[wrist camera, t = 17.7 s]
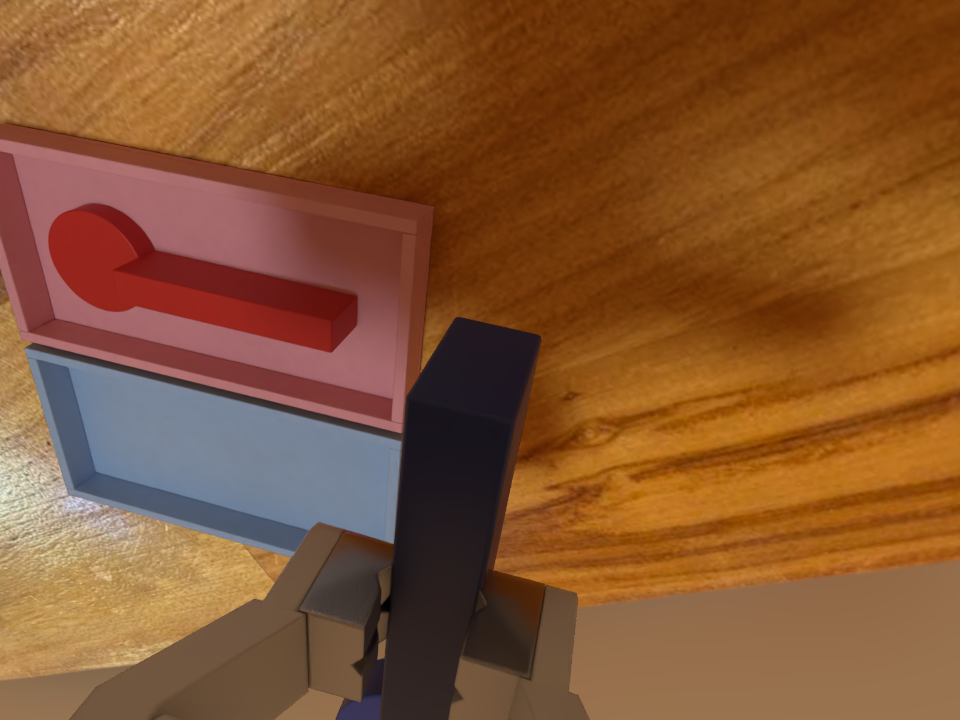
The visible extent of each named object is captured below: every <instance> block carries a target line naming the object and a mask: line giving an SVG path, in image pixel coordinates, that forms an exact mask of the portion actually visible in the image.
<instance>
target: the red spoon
mask: <svg viewBox="0 0 960 720" xmlns="http://www.w3.org/2000/svg"><path fill="white" fill-rule="evenodd" d="M48 246H49V252H50V255H51V259H52V261H53V264H54V266H55V268H56V270H57V272H58V273H59V275H60V276H61V278H62V279H63V281H64V282H65V283H66V285H67V286H68V287H69V288H70V289H71V290H72V291H73V292H74V293H75V294H76V295H77V296H79V297H80V298H81V299H82V300H84V301H85V302H87V303H89V304H90V305H92V306H94V307H96V308H99V309H102V310H105V311H110V312H124V311H127V310H130V309H132V308H134V307H136V306H137V307H141V308H145V309H149V310H153V311H157V312H162V313H166V314H170V315H174V316H178V317H183V318H187V319H191V320H195V321H199V322H203V323H208V324H212V325H216V326H220V327H224V328H228V329H233V330H237V331H241V332H245V333H249V334H254V335H258V336H262V337H266V338H270V339H274V340H279V341H283V342H287V343H291V344H295V345H300V346H304V347H308V348H312V349H316V350H320V351H325V352H329V353H332V352H333V351H334V350H335V349H336V348H337V347H338V346H339V345H340V343H341V342H342V341H343V340H344V339H345V338H346V337H347V336H348V335H349V334H350V333H351V332H352V331H353V329H354V328H355V327H356V326H357V296H354V295H349V294H345V293H341V292H336V291H332V290H327V289H323V288H318V287H314V286H310V285H305V284H301V283H296V282H292V281H287V280H283V279H278V278H274V277H270V276H265V275H261V274H256V273H252V272H247V271H243V270H238V269H234V268H230V267H225V266H221V265H216V264H212V263H207V262H203V261H198V260H194V259H190V258H185V257H181V256H176V255H172V254H167V253H163V252H158V251H155V250H154V247H153V246H152V244H151V242H150V240H149V239H148V237H147V236H146V234H145V233H144V232H143V231H142V229H141V228H140V227H139V226H138V225H137V224H136V223H135V222H134V221H132V220H131V219H130V218H129V217H127V216H126V215H125V214H123V213H121V212H120V211H118V210H116V209H113V208H111V207H108V206H104V205H99V204H89V205H84V206H81V207H78V208H75V209H72V210H69V211H66V212H63V213H62V214H60V215H59V216H58V217H57V218H56V219H55V220H54V221H53V223H52V225H51V227H50V230H49V235H48Z"/></svg>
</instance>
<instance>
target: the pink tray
mask: <svg viewBox="0 0 960 720" xmlns="http://www.w3.org/2000/svg"><path fill="white" fill-rule="evenodd" d="M89 204H99V205H104V206H108V207H111V208H113V209H116V210H118V211H120V212H121V213H123V214H125V215H126V216H127V217H129V218H130V219H131V220H132V221H134V222H135V223H136V224H137V225H138V226H139V227H140V228H141V229H142V231H143V232H144V233H145V234H146V236H147V237H148V239H149V240H150V242H151V244H152V246H153V247H154V250H155V251H158V252H163V253H167V254H172V255H176V256H181V257H185V258H190V259H194V260H198V261H203V262H207V263H212V264H216V265H221V266H225V267H230V268H234V269H238V270H243V271H247V272H252V273H256V274H261V275H265V276H270V277H274V278H278V279H283V280H287V281H292V282H296V283H301V284H305V285H310V286H314V287H318V288H323V289H327V290H332V291H336V292H341V293H345V294H349V295H354V296H357V326H356V327H355V328H354V329H353V331H352V332H351V333H350V334H349V335H348V336H347V337H346V338H345V339H344V340H343V341H342V342H341V343H340V345H339V346H338V347H337V348H336V349H335V350H334V351H333V352H332V353H329V352H325V351H320V350H316V349H312V348H308V347H304V346H300V345H295V344H291V343H287V342H283V341H279V340H274V339H270V338H266V337H262V336H258V335H254V334H249V333H245V332H241V331H237V330H233V329H228V328H224V327H220V326H216V325H212V324H208V323H203V322H199V321H195V320H191V319H187V318H183V317H178V316H174V315H170V314H166V313H162V312H157V311H153V310H149V309H145V308H141V307H137V306H136V307H134V308H132V309H130V310H127V311H124V312H110V311H105V310H102V309H99V308H96V307H94V306H92V305H90V304H89V303H87V302H85V301H84V300H82V299H81V298H80V297H79V296H77V295H76V294H75V293H74V292H73V291H72V290H71V289H70V288H69V287H68V286H67V285H66V283H65V282H64V281H63V279H62V278H61V276H60V275H59V273H58V272H57V270H56V268H55V266H54V264H53V261H52V259H51V255H50V252H49V246H48V235H49V230H50V227H51V225H52V223H53V221H54V220H55V219H56V218H57V217H58V216H59V215H60V214H62V213H63V212H66V211H69V210H72V209H75V208H78V207H81V206H84V205H89ZM433 214H434V206H430V205H425V204H420V203H415V202H409V201H404V200H399V199H394V198H389V197H384V196H378V195H373V194H368V193H363V192H358V191H353V190H347V189H342V188H337V187H332V186H327V185H321V184H316V183H311V182H306V181H301V180H296V179H290V178H285V177H280V176H275V175H270V174H265V173H259V172H254V171H249V170H244V169H239V168H234V167H228V166H223V165H218V164H213V163H208V162H202V161H197V160H192V159H187V158H182V157H177V156H171V155H166V154H161V153H156V152H151V151H146V150H140V149H135V148H130V147H125V146H120V145H115V144H109V143H104V142H99V141H94V140H89V139H83V138H78V137H73V136H68V135H63V134H58V133H52V132H47V131H42V130H37V129H32V128H27V127H21V126H16V125H11V124H0V269H1V272H2V275H3V279H4V282H5V285H6V289H7V292H8V295H9V299H10V302H11V305H12V309H13V312H14V315H15V319H16V322H17V325H18V329H19V330H20V331H19V332H20V335H21V339H22V340H25V341H29V342H33V343H37V344H42V345H46V346H50V347H54V348H58V349H62V350H66V351H70V352H74V353H78V354H82V355H86V356H90V357H94V358H98V359H102V360H106V361H110V362H114V363H118V364H123V365H127V366H131V367H135V368H139V369H143V370H147V371H151V372H155V373H159V374H163V375H167V376H171V377H175V378H179V379H183V380H187V381H191V382H195V383H199V384H204V385H208V386H212V387H216V388H220V389H224V390H228V391H232V392H236V393H240V394H244V395H248V396H252V397H256V398H260V399H264V400H268V401H272V402H276V403H281V404H285V405H289V406H293V407H297V408H301V409H305V410H309V411H313V412H317V413H321V414H325V415H329V416H333V417H337V418H341V419H345V420H349V421H353V422H357V423H362V424H366V425H370V426H374V427H378V428H382V429H386V430H390V431H394V432H398V433H402V432H403V428H404V416H405V404H406V396H407V395H408V393H409V391H410V390H411V388H412V387H413V385H414V383H415V382H416V380H417V378H418V377H419V375H420V363H421V352H422V340H423V329H424V317H425V306H426V294H427V283H428V271H429V260H430V248H431V237H432V225H433Z"/></svg>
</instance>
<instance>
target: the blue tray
mask: <svg viewBox="0 0 960 720" xmlns="http://www.w3.org/2000/svg"><path fill="white" fill-rule="evenodd" d="M25 352H26V355H27V357H28V358H27V359H28V362H29V365H30V369H31V372H32V375H33V379H34V382H35V385H36V389H37V392H38V395H39V399H40V402H41V405H42V409H43V412H44V415H45V419H46V422H47V425H48V428H49V432H50V435H51V438H52V442H53V445H54V448H55V452H56V455H57V458H58V462H59V465H60V468H61V472H62V475H63V478H64V482H65V485H66V487H67V492H68V494H69V495H72V496H76V497H79V498H83V499H86V500H90V501H93V502H97V503H100V504H104V505H108V506H111V507H115V508H118V509H122V510H125V511H129V512H132V513H136V514H139V515H143V516H146V517H150V518H154V519H157V520H161V521H164V522H168V523H171V524H175V525H178V526H182V527H185V528H189V529H192V530H196V531H200V532H203V533H207V534H210V535H214V536H217V537H221V538H224V539H228V540H231V541H235V542H238V543H242V544H246V545H249V546H253V547H256V548H260V549H263V550H267V551H270V552H274V553H277V554H281V555H285V556H288V557H292V556H293V554H294V553H295V551H296V550H297V548H298V547H299V545H300V544H301V542H302V541H303V539H304V538H305V536H306V534H307V533H308V531H309V530H310V528H312V527H313V526H314V525H315V524H316V523H318V522H322V523H325V524H329V525H332V526H335V527H339V528H342V529H346V530H350V531H353V532H356V533H360V534H363V535H366V536H369V537H373V538H376V539H379V540H383V541H386V542H389V543H392V544H394V538H395V526H396V513H397V501H398V489H399V477H400V465H401V452H402V440H403V432H402V433H398V432H394V431H390V430H386V429H382V428H378V427H374V426H370V425H366V424H362V423H357V422H353V421H349V420H345V419H341V418H337V417H333V416H329V415H325V414H321V413H317V412H313V411H309V410H305V409H301V408H297V407H293V406H289V405H285V404H281V403H276V402H272V401H268V400H264V399H260V398H256V397H252V396H248V395H244V394H240V393H236V392H232V391H228V390H224V389H220V388H216V387H212V386H208V385H204V384H199V383H195V382H191V381H187V380H183V379H179V378H175V377H171V376H167V375H163V374H159V373H155V372H151V371H147V370H143V369H139V368H135V367H131V366H127V365H123V364H118V363H114V362H110V361H106V360H102V359H98V358H94V357H90V356H86V355H82V354H78V353H74V352H70V351H66V350H62V349H58V348H54V347H50V346H46V345H42V344H37V343H33V344H31V345H29V346H27V347H25Z"/></svg>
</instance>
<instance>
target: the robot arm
mask: <svg viewBox="0 0 960 720" xmlns="http://www.w3.org/2000/svg"><path fill="white" fill-rule="evenodd" d="M393 550H394V544H392V543H389V542H386V541H383V540H379V539H376V538H373V537H369V536H366V535H363V534H360V533H356V532H353V531H350V530H346V529H342V528H339V527H335V526H332V525H329V524H325V523H322V522H318V523H316V524H315V525H314V526H313V527H312V528H310V530H309V531H308V533H307V534H306V536H305V538H304V539H303V541H302V542H301V544H300V545H299V547H298V548H297V550H296V551H295V553H294V554H293V556H292V557H291V559H290V561H289V562H288V564H287V565H286V567H285V568H284V570H283V571H282V573H281V574H280V576H279V577H278V579H277V580H276V582H275V584H274V585H273V587H272V588H271V590H270V591H269V593H268V594H267V596H266V597H265V599H264V600H263V601H261V600H258V599H253V600H251V601H249V602H248V603H246V604H244V605H242V606H240V607H239V608H237V609H235V610H233V611H231V612H230V613H228V614H226V615H224V616H222V617H221V618H219V619H217V620H215V621H214V622H212V623H210V624H208V625H206V626H205V627H203V628H201V629H199V630H197V631H196V632H194V633H192V634H190V635H188V636H187V637H185V638H183V639H181V640H179V641H178V642H176V643H174V644H172V645H170V646H169V647H167V648H165V649H163V650H161V651H160V652H158V653H156V654H154V655H152V656H151V657H149V658H147V659H145V660H144V661H142V662H140V663H138V664H136V665H135V666H133V667H131V668H129V669H127V670H126V671H124V672H122V673H120V674H118V675H117V676H115V677H113V678H111V679H109V680H108V681H106V682H104V683H102V684H100V685H99V686H97V687H95V689H94V690H93V691H92V692H91V693H90V695H89V696H88V697H87V698H86V700H85V701H84V702H83V703H82V704H81V706H80V707H79V708H78V709H77V711H76V712H75V713H74V714H73V715H72V717H71V718H70V719H69V720H274V719H276V718H277V717H278V716H279V715H280V714H282V713H283V712H284V711H285V710H286V709H288V708H289V707H290V706H291V705H293V704H294V703H295V702H296V701H297V700H299V699H300V698H301V697H302V696H303V695H305V694H306V693H307V692H308V688H311V689H315V690H318V691H322V692H325V693H329V694H333V695H336V696H340V697H343V698H347V699H350V700H354V701H357V702H361V700H362V698H363V695H364V693H365V691H366V688H367V686H368V683H369V681H370V678H371V676H372V674H373V671H374V669H375V666H376V664H377V656H378V644H379V643H380V642H382V641H383V640H385V639H386V638H387V635H388V624H389V613H390V612H389V599H390V594H391V585H392V570H393ZM577 606H578V597H577V593H574V592H571V591H567V590H563V589H560V588H556V587H552V586H549V585H546V586H545V584H544V583H540V582H536V581H532V580H529V579H525V578H521V577H517V576H513V575H509V574H506V573H502V572H498V571H494V570H490V569H488V572H487V575H486V578H485V582H484V585H483V588H482V589H481V590H479V591H478V596H477V601H476V606H475V611H474V614H473V615H472V616H471V619H470V622H469V626H468V630H467V633H466V637H465V641H464V644H463V648H462V651H461V655H460V659H459V664H458V670H457V675H456V680H455V685H454V686H455V691H454V695H453V699H452V703H451V708H450V714H449V720H590V719H589V717H588V715H587V713H586V710H585V708H584V706H583V704H582V702H581V700H580V698H579V695H576V694H573V693H571V692H569V683H570V674H571V664H572V654H573V645H574V635H575V625H576V615H577Z"/></svg>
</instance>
